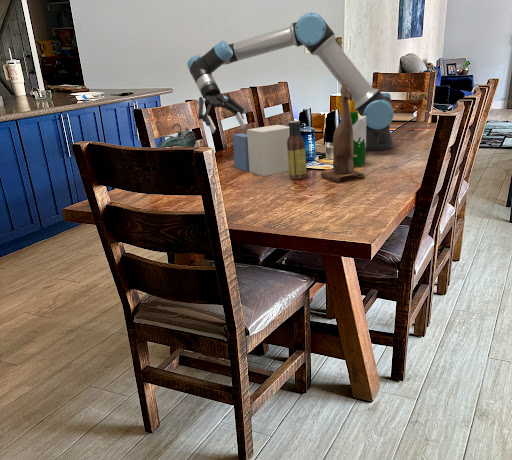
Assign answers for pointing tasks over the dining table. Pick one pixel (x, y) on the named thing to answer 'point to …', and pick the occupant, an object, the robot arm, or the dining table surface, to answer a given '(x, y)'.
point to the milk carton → (358, 139)
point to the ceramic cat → (179, 139)
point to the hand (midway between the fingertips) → (229, 128)
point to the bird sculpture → (343, 143)
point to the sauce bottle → (296, 152)
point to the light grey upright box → (268, 149)
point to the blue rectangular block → (241, 151)
